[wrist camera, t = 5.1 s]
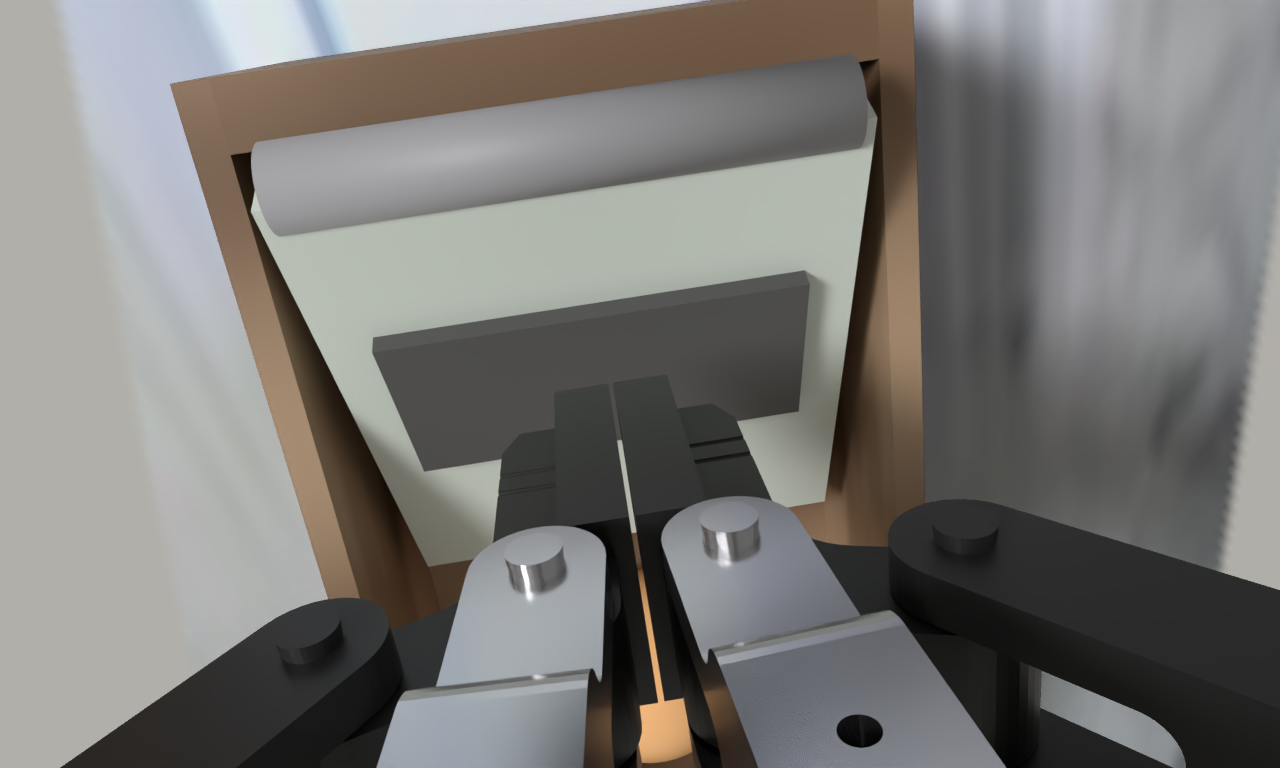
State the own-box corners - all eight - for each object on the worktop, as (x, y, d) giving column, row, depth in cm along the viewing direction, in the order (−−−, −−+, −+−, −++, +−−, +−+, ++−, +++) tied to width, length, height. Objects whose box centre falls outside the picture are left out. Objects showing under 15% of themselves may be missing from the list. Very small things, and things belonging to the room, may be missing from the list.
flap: (241, 125, 12) (227, 188, 11) (859, 34, 12) (891, 89, 11) (428, 524, 19) (427, 580, 18) (811, 461, 20) (828, 513, 19)
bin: (286, 62, 18) (170, 83, 12) (801, -13, 18) (912, -25, 13) (474, 781, 25) (452, 1004, 19) (848, 716, 25) (934, 917, 20)
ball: (516, 744, 18) (535, 698, 22) (712, 821, 18) (696, 760, 22) (591, 545, 18) (597, 535, 22) (784, 619, 18) (755, 596, 22)
